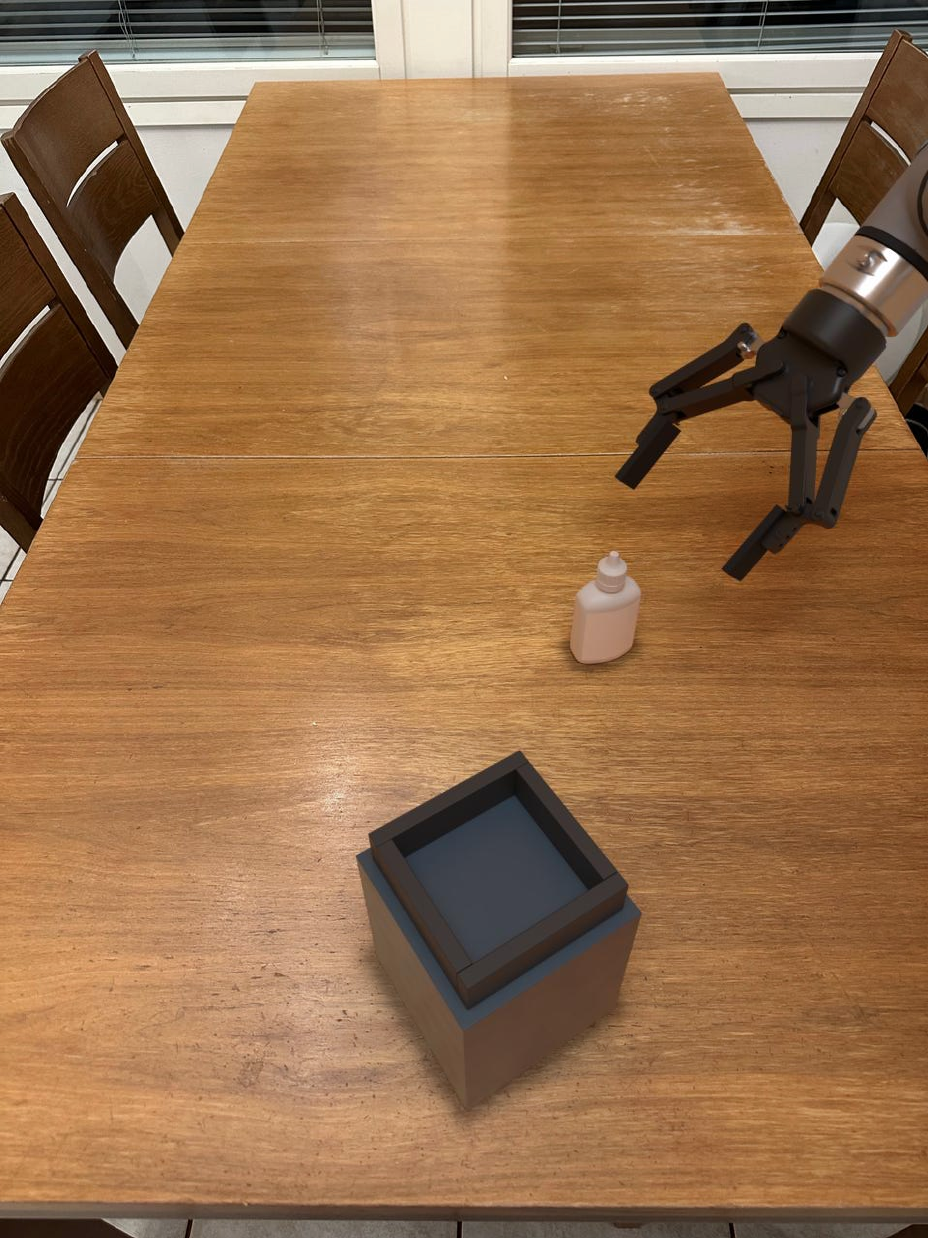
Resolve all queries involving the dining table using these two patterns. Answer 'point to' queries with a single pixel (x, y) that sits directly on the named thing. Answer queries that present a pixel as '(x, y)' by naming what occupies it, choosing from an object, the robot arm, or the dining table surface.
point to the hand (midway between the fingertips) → (674, 527)
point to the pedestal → (497, 924)
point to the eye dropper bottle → (605, 613)
